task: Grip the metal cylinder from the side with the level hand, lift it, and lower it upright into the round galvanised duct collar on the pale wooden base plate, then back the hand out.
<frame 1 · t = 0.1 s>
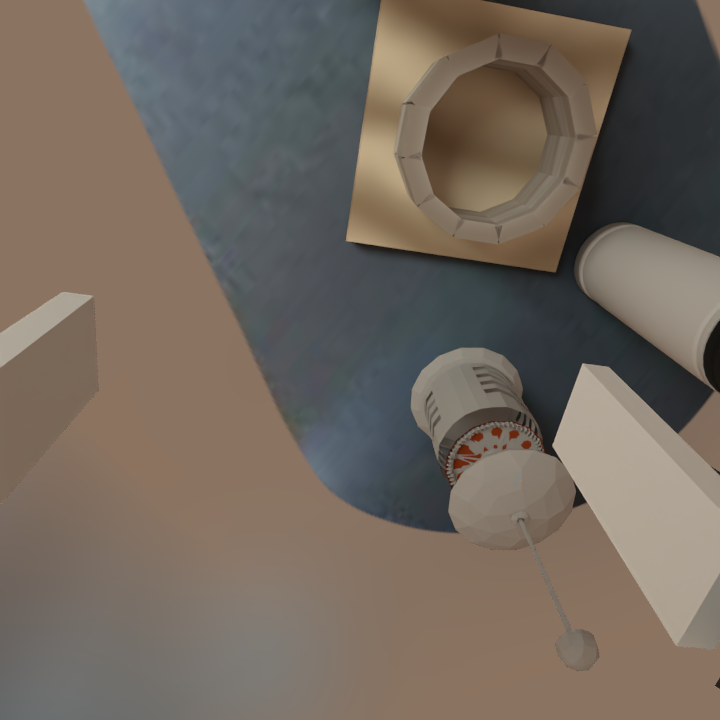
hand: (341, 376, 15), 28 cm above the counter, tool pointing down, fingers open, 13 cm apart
duct collar: (474, 141, 38), on the counter
travel mug: (611, 263, 43), on the counter
french press: (470, 405, 48), on the counter
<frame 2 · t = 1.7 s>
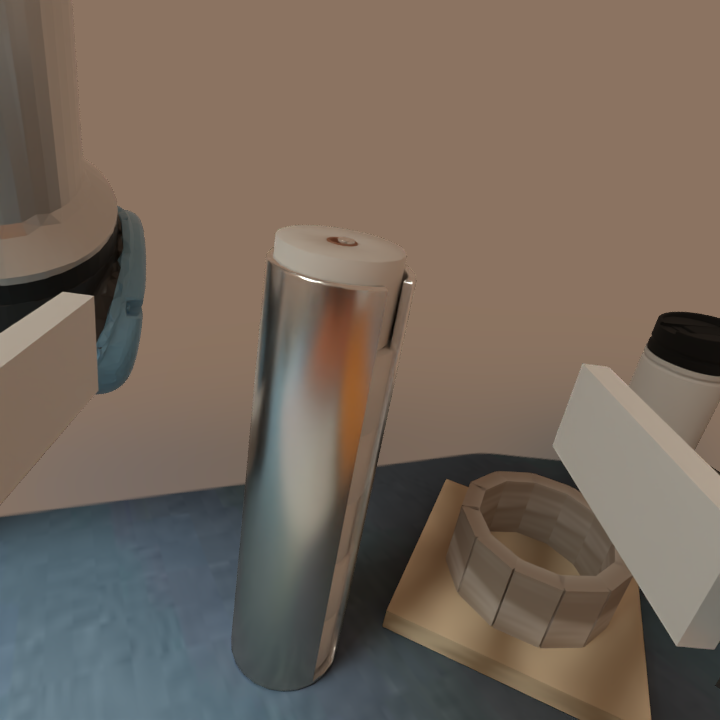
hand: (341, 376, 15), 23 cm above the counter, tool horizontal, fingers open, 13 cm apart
duct collar: (519, 591, 40), on the counter
travel mug: (613, 524, 49), on the counter
metal cylinder: (284, 642, 33), on the counter
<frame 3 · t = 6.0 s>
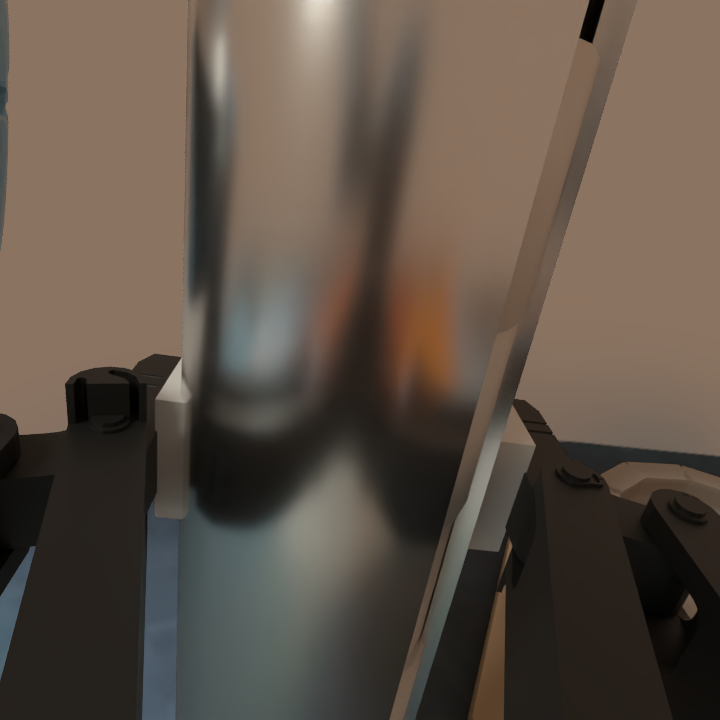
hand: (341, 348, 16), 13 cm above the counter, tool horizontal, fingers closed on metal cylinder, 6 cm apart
duct collar: (675, 662, 24), on the counter
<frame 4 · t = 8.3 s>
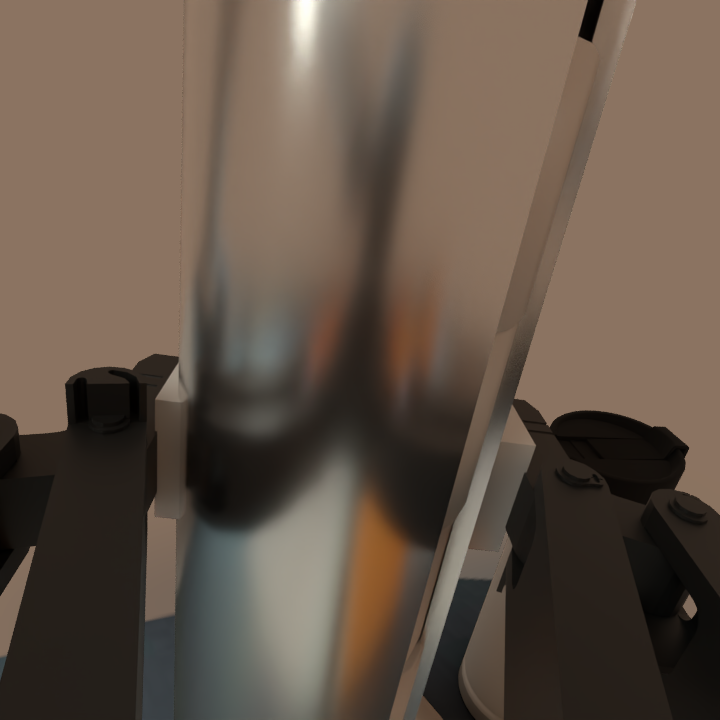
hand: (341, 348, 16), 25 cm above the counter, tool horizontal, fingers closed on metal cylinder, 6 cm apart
travel mug: (507, 696, 35), on the counter
when the fingers open (16 cm above the counter, at t = 10.5 s): metal cylinder drops 2 cm, resting on duct collar.
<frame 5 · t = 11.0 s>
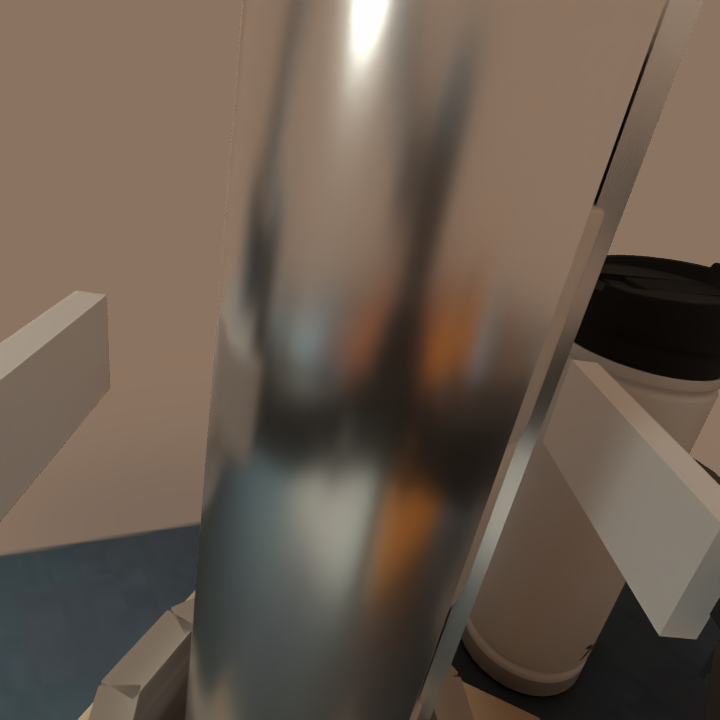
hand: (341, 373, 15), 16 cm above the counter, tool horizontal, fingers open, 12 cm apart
travel mug: (519, 641, 28), on the counter
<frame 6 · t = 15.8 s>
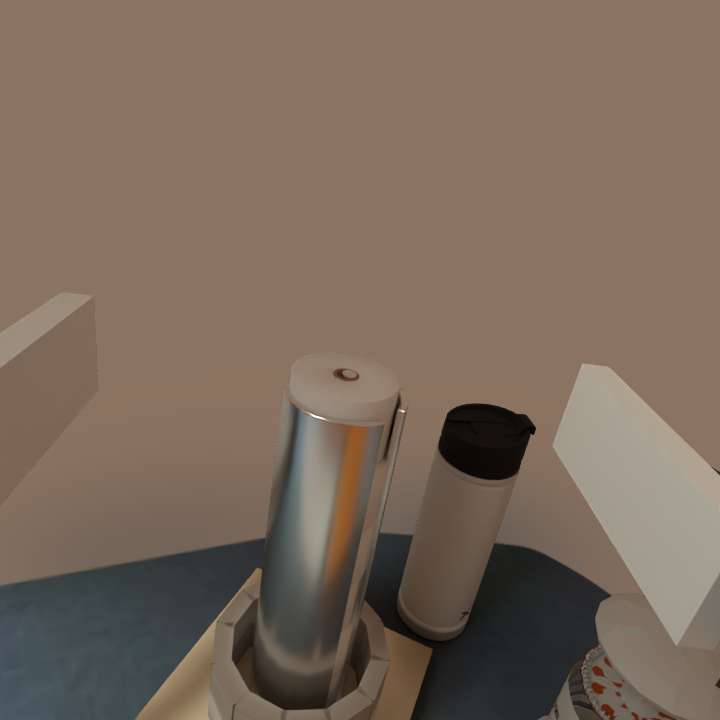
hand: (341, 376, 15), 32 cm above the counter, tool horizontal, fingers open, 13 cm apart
duct collar: (292, 703, 39), on the counter
travel mug: (432, 612, 48), on the counter
metal cylinder: (295, 692, 38), point 1 cm above the counter, touching duct collar
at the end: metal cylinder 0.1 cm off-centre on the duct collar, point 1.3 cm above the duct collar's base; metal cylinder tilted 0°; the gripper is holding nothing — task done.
